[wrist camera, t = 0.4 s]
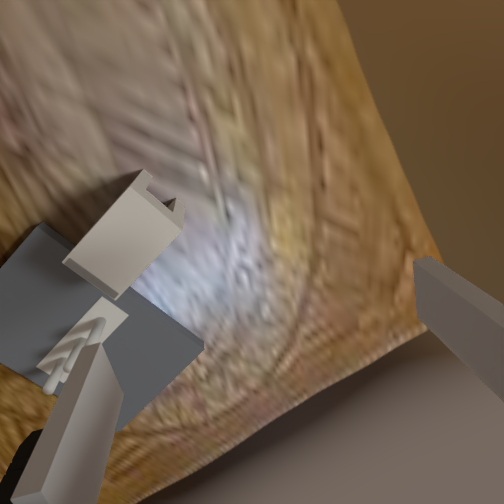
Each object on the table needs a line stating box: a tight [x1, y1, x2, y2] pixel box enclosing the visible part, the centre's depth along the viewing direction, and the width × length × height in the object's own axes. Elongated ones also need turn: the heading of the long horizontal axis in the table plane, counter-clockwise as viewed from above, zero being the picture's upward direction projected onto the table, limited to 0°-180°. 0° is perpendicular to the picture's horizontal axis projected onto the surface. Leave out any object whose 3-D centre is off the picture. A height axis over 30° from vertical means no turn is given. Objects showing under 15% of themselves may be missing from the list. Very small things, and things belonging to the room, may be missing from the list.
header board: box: [0, 222, 204, 432], centre depth 39 cm, size 20×14×6 cm
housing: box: [62, 169, 185, 301], centre depth 34 cm, size 5×8×8 cm, turn 136°
